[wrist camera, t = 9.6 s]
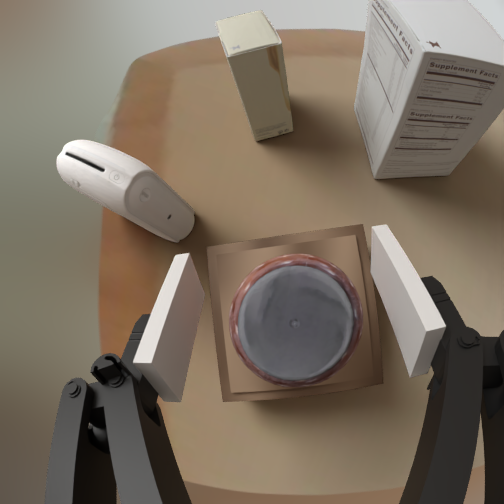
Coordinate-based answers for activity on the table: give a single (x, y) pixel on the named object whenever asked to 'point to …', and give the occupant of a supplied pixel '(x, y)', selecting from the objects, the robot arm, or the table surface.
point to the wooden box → (261, 250)
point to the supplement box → (426, 85)
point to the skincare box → (258, 72)
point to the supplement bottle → (296, 320)
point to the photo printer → (125, 188)
